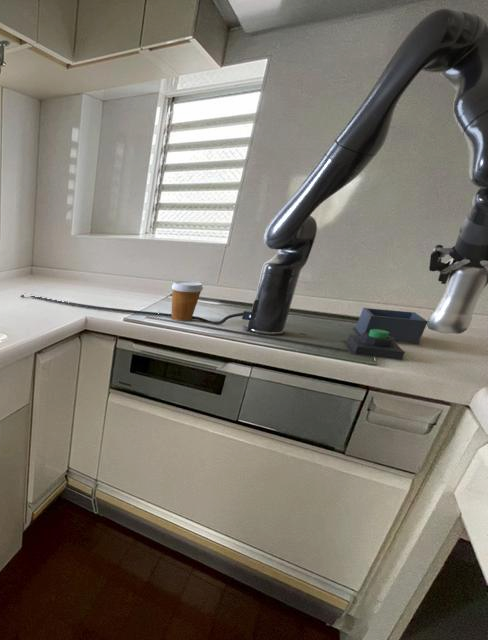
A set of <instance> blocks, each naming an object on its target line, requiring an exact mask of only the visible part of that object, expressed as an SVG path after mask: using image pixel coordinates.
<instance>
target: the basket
mask: <svg viewBox="0 0 488 640" xmlns="http://www.w3.org/2000/svg"><path fill="white" fill-rule="evenodd" d="M427 322H428V319H425V318H424V317H422V316H421V315H419V314H418V313H416V312H415V311H414V312H412V311H402V310H393V309H382V308H370V307H362V310H361V313H360V315H359V318H358V320H357V324H356V325H355V326H356V327H355V330H356V331H357V333H359V335H361V333H370V330H371V329H379V330H384V331H388V332H389V334H388V336H391V337H394V338H395V341H394V342H395V343H396V342H397V343H405V344H413V345H414V344H415V345H419V344H420V341H421V338H422V337H423V334H424V332H425V329H426V328H427Z"/></svg>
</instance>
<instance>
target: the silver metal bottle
mask: <svg viewBox="0 0 488 640" xmlns="http://www.w3.org/2000/svg"><path fill="white" fill-rule="evenodd" d="M446 284H447V285H446V286H445V288H444V289H445V290H444V292H443V295H442V297H441V299H440V300H439V302H438V304H437V305H436V307H435V310H433V311H432V312H431V314H430V315H429V317H428V319H427V321H428V322H427V325H426V327H427V328H428V329H429V330H431V331H434V332H437V333H440V334H447V335H451V334H455V335H458V334H462V333H464V332H466V331H467V330H468V328H469V327H471V323H472V321H473V314H474V312H475V308H476V305H477V303H478V301H479V299H480V297H481V295H482V294H483V292H484V290H485V289H486V287H487V285H488V272H487V270H486V269H485V268H477V267H463V266H461V267H459V268H458V269H456V270H452V271H451V273H450V276H449V278H448V280H447V283H446Z"/></svg>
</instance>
